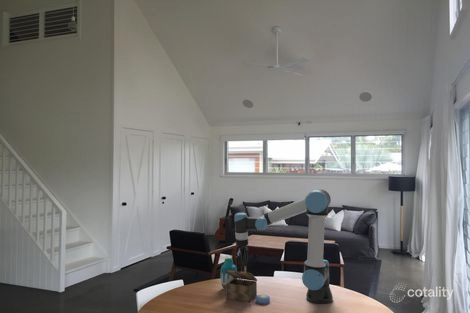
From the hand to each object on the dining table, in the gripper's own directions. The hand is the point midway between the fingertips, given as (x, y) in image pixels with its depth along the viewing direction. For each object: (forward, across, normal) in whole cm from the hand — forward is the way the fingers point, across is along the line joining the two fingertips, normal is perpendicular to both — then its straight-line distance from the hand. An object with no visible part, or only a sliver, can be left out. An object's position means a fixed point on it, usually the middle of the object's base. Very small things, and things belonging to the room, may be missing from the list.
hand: (244, 276), depth 222 cm
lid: (-1, +5, 0) cm, 5 cm away
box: (+11, +6, 0) cm, 12 cm away
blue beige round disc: (+11, +6, +14) cm, 19 cm away
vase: (+12, -5, -14) cm, 19 cm away
